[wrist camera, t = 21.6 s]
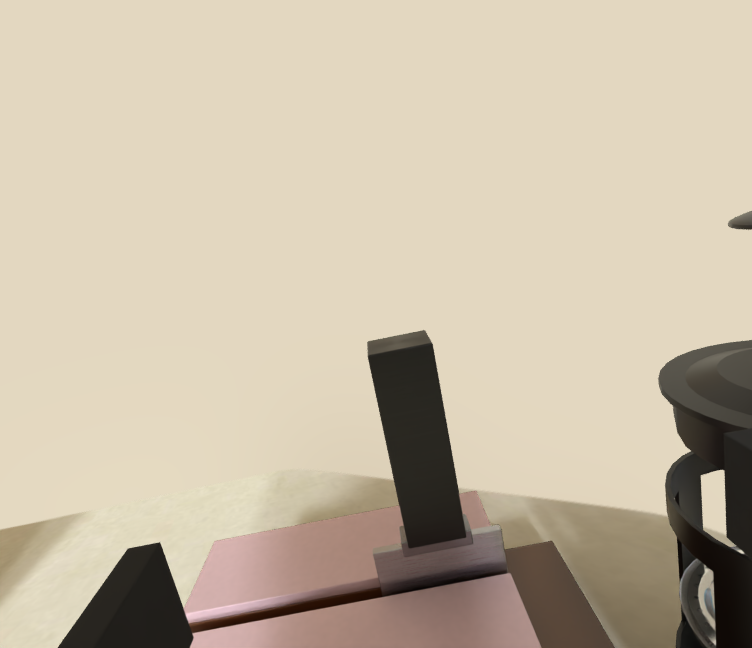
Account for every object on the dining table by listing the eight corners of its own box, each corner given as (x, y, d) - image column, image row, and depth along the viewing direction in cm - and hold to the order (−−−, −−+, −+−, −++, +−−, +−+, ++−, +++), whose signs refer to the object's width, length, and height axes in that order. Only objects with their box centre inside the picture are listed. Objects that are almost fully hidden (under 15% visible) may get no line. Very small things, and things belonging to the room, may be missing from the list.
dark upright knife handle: (517, 659, 25) (463, 321, 20) (531, 701, 22) (475, 334, 18) (405, 680, 25) (329, 348, 21) (409, 724, 23) (325, 364, 18)
